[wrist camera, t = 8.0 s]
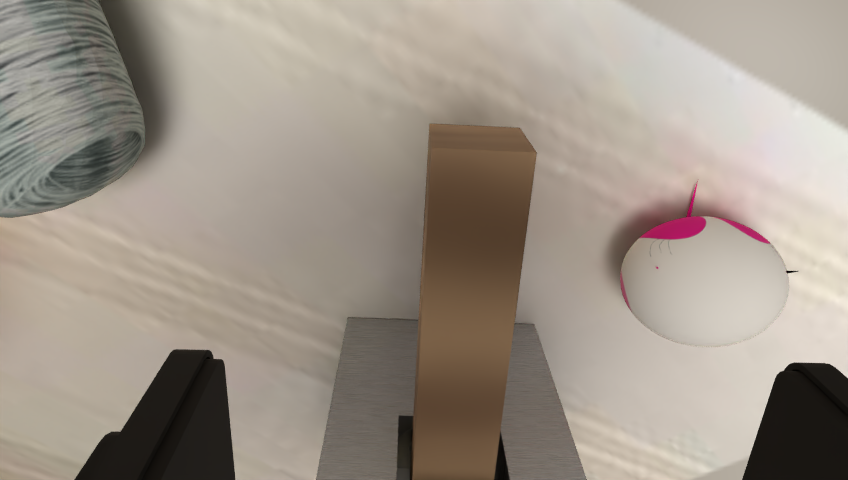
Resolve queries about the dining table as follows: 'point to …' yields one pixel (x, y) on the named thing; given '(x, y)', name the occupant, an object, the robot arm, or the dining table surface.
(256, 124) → the dining table surface
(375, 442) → the block
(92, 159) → the spool
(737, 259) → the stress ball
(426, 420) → the shaft
